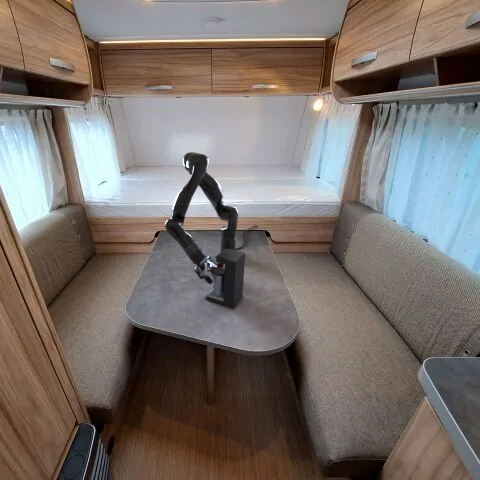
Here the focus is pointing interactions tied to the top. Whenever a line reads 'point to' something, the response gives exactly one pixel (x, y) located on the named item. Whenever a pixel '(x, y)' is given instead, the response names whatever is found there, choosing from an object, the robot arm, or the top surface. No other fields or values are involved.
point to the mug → (217, 266)
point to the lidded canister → (218, 282)
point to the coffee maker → (230, 277)
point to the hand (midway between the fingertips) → (215, 279)
